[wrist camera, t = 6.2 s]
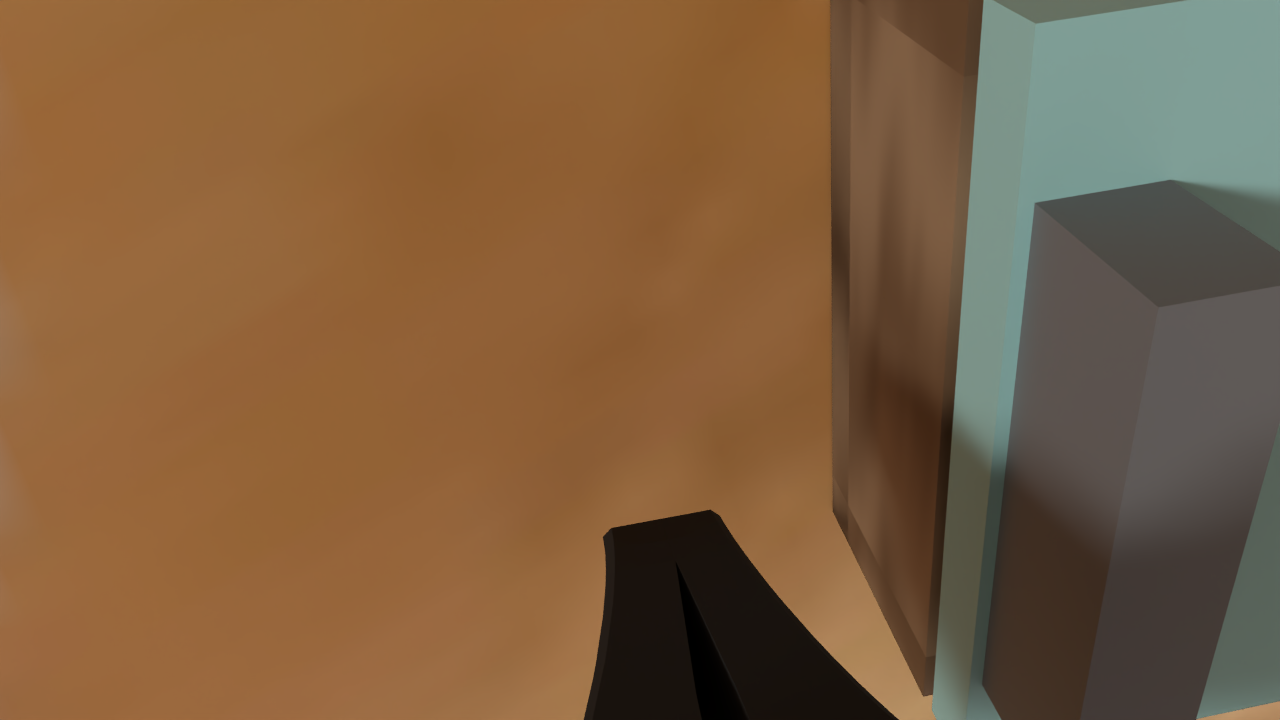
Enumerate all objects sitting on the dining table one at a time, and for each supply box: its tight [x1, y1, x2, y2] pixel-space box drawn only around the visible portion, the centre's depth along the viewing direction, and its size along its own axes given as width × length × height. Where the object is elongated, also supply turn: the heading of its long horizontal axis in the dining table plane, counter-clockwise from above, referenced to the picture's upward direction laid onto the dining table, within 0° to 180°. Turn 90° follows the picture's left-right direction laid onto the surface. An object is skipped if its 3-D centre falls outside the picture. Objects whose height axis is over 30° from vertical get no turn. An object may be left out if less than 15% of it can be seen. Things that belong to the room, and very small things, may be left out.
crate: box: [831, 0, 984, 696], centre depth 18 cm, size 12×12×5 cm
